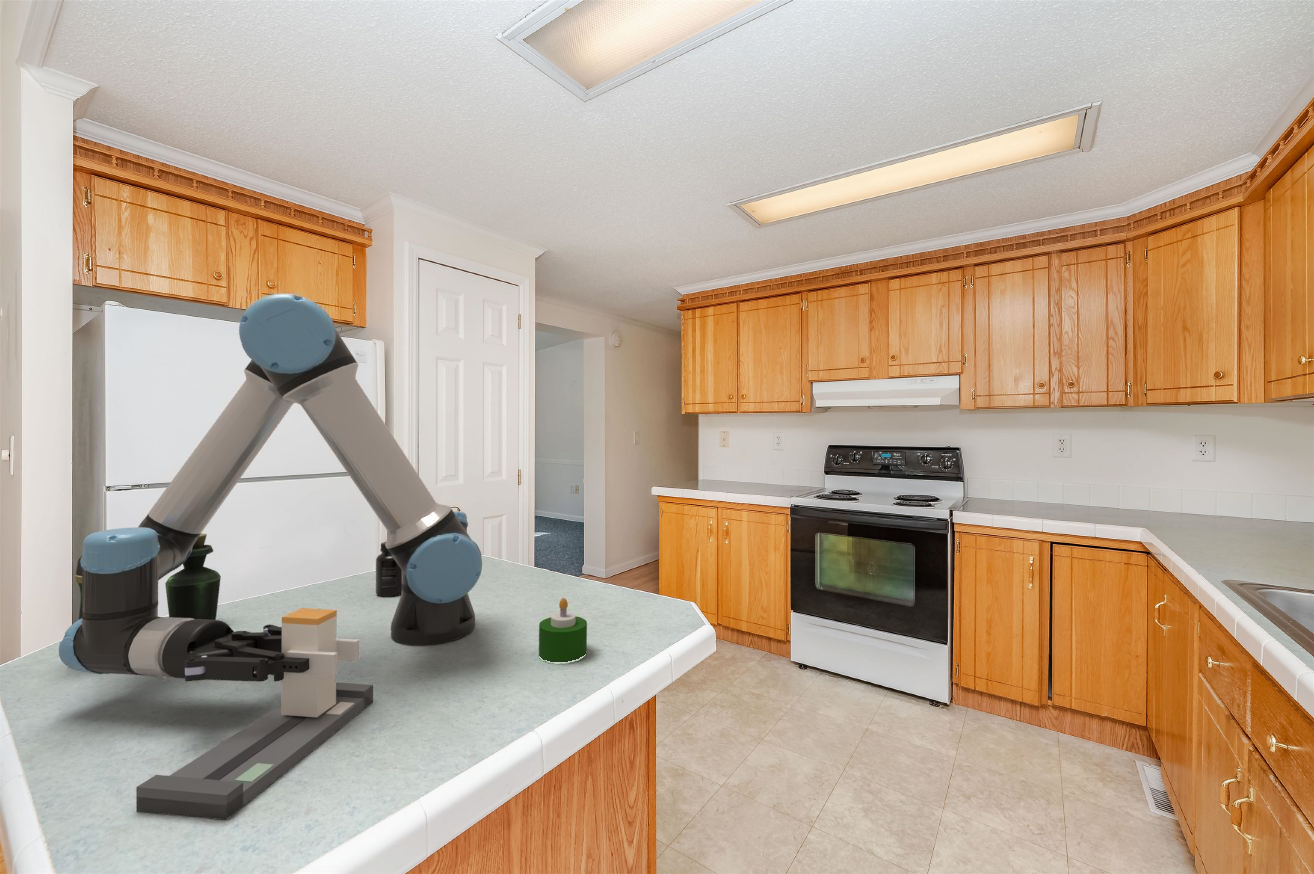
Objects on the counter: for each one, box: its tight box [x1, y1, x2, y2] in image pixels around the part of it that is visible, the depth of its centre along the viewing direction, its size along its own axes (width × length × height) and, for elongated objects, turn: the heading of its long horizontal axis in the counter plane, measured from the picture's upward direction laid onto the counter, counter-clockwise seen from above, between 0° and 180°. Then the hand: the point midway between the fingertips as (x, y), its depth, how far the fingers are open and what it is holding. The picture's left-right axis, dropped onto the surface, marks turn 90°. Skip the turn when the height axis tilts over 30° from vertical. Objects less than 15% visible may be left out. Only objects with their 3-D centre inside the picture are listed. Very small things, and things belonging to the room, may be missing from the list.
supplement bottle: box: [375, 541, 402, 598], centre depth 130 cm, size 7×7×12 cm
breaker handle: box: [280, 607, 338, 717], centre depth 73 cm, size 4×5×13 cm
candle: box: [538, 597, 588, 662], centre depth 97 cm, size 8×8×10 cm
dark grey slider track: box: [135, 681, 374, 821], centre depth 68 cm, size 24×10×2 cm, turn 174°
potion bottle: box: [164, 533, 222, 620], centre depth 106 cm, size 8×8×18 cm
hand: (346, 657), depth 73 cm, fingers closed on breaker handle, 4 cm apart
